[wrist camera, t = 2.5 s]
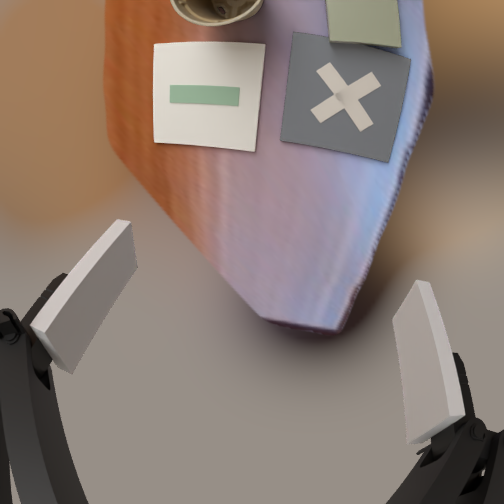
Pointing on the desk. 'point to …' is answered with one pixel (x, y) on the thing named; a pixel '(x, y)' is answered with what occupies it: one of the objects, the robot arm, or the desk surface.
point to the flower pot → (216, 10)
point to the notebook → (364, 22)
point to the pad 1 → (207, 93)
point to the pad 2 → (343, 96)
